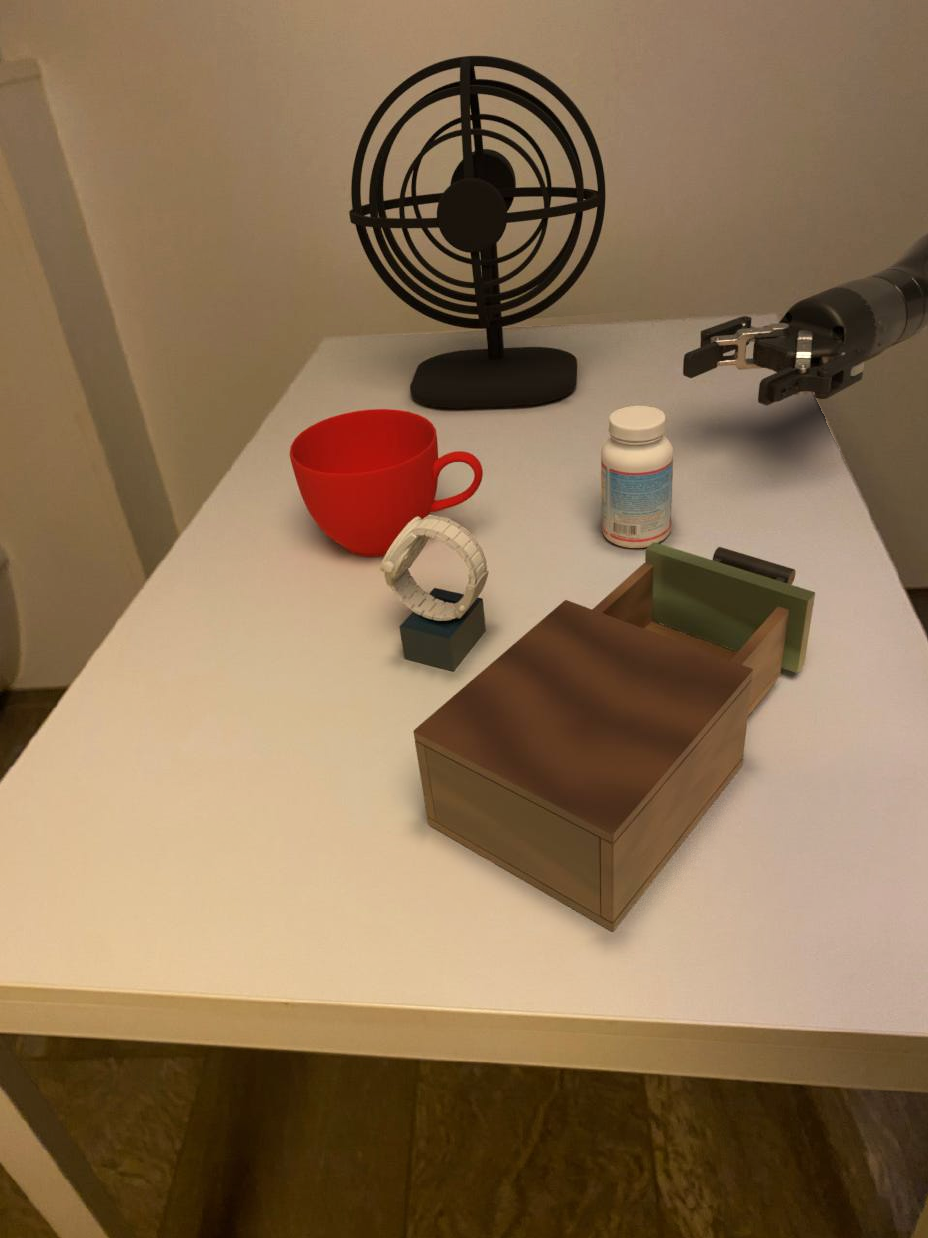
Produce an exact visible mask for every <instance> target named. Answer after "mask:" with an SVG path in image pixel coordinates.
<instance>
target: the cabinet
mask: <svg viewBox="0 0 928 1238" xmlns="http://www.w3.org/2000/svg"><path fill="white" fill-rule="evenodd" d="M592 609H593V608H589V607H588V606H587V607H586V606H584V605H581V604H579V603H575V602H573V601H570V600H568V599H564V600H563V601H562V602H561V603H560V604H559V605H557V607H555V608H554V609H553V610H551V612H549V613H548V614H547V615H545V616H544V618H543V619H542V620H540V621H539V622H538V623H537V624H536V625H534V626H533V627H532V628H530V629H529V630H528V631H527V632H526V633H525V634H523V636H522V637H520V638H519V639H518V640H517V641H516V642H515V643H513V644H512V645H511V646H510V647H508V648H507V649H506V650H505V651H504V652H503V653H502V654H500V655H499V656H498V657H497V658H496V659H494V661H493V662H491V663H490V664H489V665H488V666H486V667H485V668H484V669H483V670H481V672H480V673H478V674H477V675H476V676H475V677H473V679H471V681H469V682H468V683H467V684H465V686H463V687H462V688H460V689H459V691H458V692H456V693H455V694H454V695H453V696H452V697H451V698H449V699H448V700H447V701H446V702H445V703H444V704H442V705H441V706H440V707H439V708H438V709H437V710H436V711H434V712H433V713H431V714H430V716H428V717H427V718H426V719H425V720H424V721H422V723H420V724H419V725H418V726H417V727H416V728H414V729H413V732H412V733H413V738H414V746H415V752H416V758H417V763H418V770H419V776H420V781H421V782H420V783H421V788H422V794H423V801H424V807H425V812H426V817H427V822H428V823H427V824H428V826H430V827H432V828H433V829H435V830H437V831H438V832H440V833H441V834H443V835H445V836H447V837H449V838H451V840H454V841H456V842H457V843H459V844H461V845H462V846H465V847H466V848H467V849H470V850H471V851H473V852H475V853H476V854H478V855H479V856H482V857H483V858H485V859H487V860H488V861H490V862H492V863H494V864H495V865H497V866H499V867H501V868H502V869H504V870H505V871H507V872H509V873H511V874H513V875H514V876H516V877H518V878H519V879H521V880H523V881H524V882H526V883H528V884H530V885H531V886H533V887H534V888H536V889H538V890H540V891H541V892H543V893H545V894H547V895H548V896H550V897H552V898H553V899H555V900H557V901H559V902H561V903H562V904H563V905H566V906H568V908H571V909H573V910H574V911H576V912H577V913H580V914H581V915H583V916H585V917H586V918H588V919H590V920H591V921H593V922H595V923H597V924H598V925H600V926H601V927H603V928H605V929H607V930H608V931H610V932H614V931H615V930H616V928H617V927H618V926H619V924H620V923H621V922H622V920H623V919H624V918H625V917H626V916H627V915H628V913H629V912H630V910H631V909H632V908H633V906H634V905H635V904H636V903H637V902H638V900H639V899H640V898H641V896H642V895H643V894H644V892H645V891H646V890H647V889H648V887H649V886H650V885H651V883H652V882H653V881H654V880H655V878H656V877H657V876H658V874H659V873H660V872H661V870H663V868H664V867H665V865H666V864H667V863H668V862H669V860H670V859H671V858H672V856H673V855H674V854H675V853H676V851H677V850H678V848H680V846H681V845H682V843H683V842H684V841H685V840H686V838H687V837H688V836H689V835H690V833H691V832H692V831H693V830H694V828H695V827H696V825H697V824H698V823H699V821H700V820H701V819H702V818H703V816H705V814H706V813H707V812H708V810H709V809H710V808H711V806H712V805H713V804H714V803H715V801H716V800H717V799H718V797H719V796H720V794H722V792H723V791H724V790H725V789H726V787H727V785H729V783H730V782H731V780H733V778H734V777H735V775H736V774H737V773H738V772H739V770H740V769H741V768H742V766H743V763H744V762H743V761H744V753H745V745H746V737H747V736H746V735H747V727H748V718H749V715H748V710H749V701H750V692H751V683H752V675H753V669H752V668H749V667H746V666H743V665H741V664H738V663H735V662H733V661H730V660H727V659H725V658H722V657H719V656H716V655H714V654H711V653H708V652H706V651H703V650H700V649H697V648H695V647H692V646H689V645H687V644H684V643H681V642H679V641H676V640H673V639H670V638H668V637H665V636H662V635H660V634H657V633H654V632H652V631H649V630H646V629H643V628H641V627H638V626H635V625H633V624H630V623H627V622H625V621H622V620H619V619H616V618H614V617H611V616H608V615H606V614H603V613H600V612H598V611H595V610H592Z"/></svg>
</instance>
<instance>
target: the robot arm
mask: <svg viewBox="0 0 928 1238" xmlns="http://www.w3.org/2000/svg"><path fill="white" fill-rule="evenodd" d="M927 327H928V232H927V233H925V234H924V235H922V236H921V237H919V238H918V239H917V240H916V241H914V242H913V244H912V245H910V246H909V247H908V249H907V250H905V251H904V253H903V254H902V255H901V256H900V257H899V258H898V259H897V260H896V261H895V262H894V263H893V264H891V265H890V266H888V267H887V268H885V269H883V270H881V271H880V270H879V271H878V272H875V273H873V274H871V275H868V276H866V277H863V278H858V279H853V280H849V281H845V282H844V283H840V284H838V285H836V286H833V287H831V288H829V289H826V290H824V291H821V292H819V293H816V294H813V295H811V296H809V297H806V298H805V299H802V300H799V301H797V302H796V303H794V304H793V305H792V306H791V307H790V308H789V309H788V310H786V313H785V314H784V315H783V317H782V318H781V319H780V320H779V322H778V323H777V322H775V323H770V324H768V325H764V326H761V327H760V326H759V327H755V326H752V317H751V316H747V315H742V316H739V317H737V318H734V319H730V320H728V321H725V322H722V323H720V324H717V325H714V326H710V327H708V328H705V329H702V330H701V331H700V346H699V347H698V348H695V349H692V350H690V351H688V352H686V353H685V354H684V355H683V364H682V375H683V376H684V377H686V378H689V379H693V378H695V377H698V376H700V375H702V374H705V373H708V372H710V371H713V370H714V369H717V368H718V367H725V366H726V367H727V366H735V367H736V369H737V370H739V371H740V370H741V371H742V370H753V369H754V370H755V369H768V370H769V371H773V372H774V373H772V374H771V375H768V376H765V377H764V378H762V379H761V380H760V382H759V385H758V396H757V402H758V404H761V405H763V406H766V407H767V406H770V405H773V404H774V403H778V402H781V401H783V400H784V399H788V398H790V397H792V396H794V395H795V396H805V395H807V394H808V392H809V393H814V395H813V397H814V398H816V399H818V400H827V399H829V398H830V397H833V396H834V395H836V394H838V393H840V392H841V391H844V390H845V389H847V388H849V387H851V386H852V385H854V384H856V383H858V382H860V381H862V379H863V375H864V369H865V362H867V361H869V360H871V359H873V358H875V357H877V356H879V355H880V354H882V353H883V352H884V351H886V350H887V349H889V348H891V347H893V346H895V345H897V344H900V343H902V342H904V341H906V340H908V339H911V338H912V337H915V336H916V335H918V334H920V333H921V332H922V331H924V330H925V329H926V328H927ZM750 343H753V350H752V358H746V354H747V346H748V345H750ZM732 351H734V353H733V354H730V355H724V354H727V353H730V352H732Z"/></svg>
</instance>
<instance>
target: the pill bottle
mask: <svg viewBox="0 0 928 1238" xmlns="http://www.w3.org/2000/svg"><path fill="white" fill-rule="evenodd" d="M666 419H667V418H666V414H665V413H664V412H663V411H662V410H661V409H659V408H657V407H653V406H649V405H631V406H625V407H621V408H619V409H616V410H614V411H613V412H611V414H610V415H609V418H608V433H609V436H610V437H609V438H608V439H607V440H606V441H605V442H604V444H603V445H602V447H601V450H600V451H601V452H600V453H601V454H600V471H601V473H600V476H601V477H600V479H601V480H600V481H601V483H600V484H601V485H600V486H601V529H602V530H601V531H602V534H603V535H604V538H606V539H607V540H608V541H609V542H611V543H612V544H614V545H616V546H619V547H623V548H628V549H643V548H647V547H649V546H650V545H651V544H652V543H653V542H655V543H658V544H660V543H661V542H662V541H664V540H665V539H666V538H667V537H668V536H669V535H670V532H671V528H672V509H673V508H672V505H673V477H674V475H673V474H674V473H673V472H674V447H673V445H672V444H671V442H670V440H669V439H668V438H667V437H666V436H665V434H666V430H667V426H666V423H667V422H666V421H667V420H666Z"/></svg>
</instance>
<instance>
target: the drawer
mask: <svg viewBox="0 0 928 1238" xmlns="http://www.w3.org/2000/svg"><path fill="white" fill-rule="evenodd" d="M644 552H645V553H644V555H645V557H644V559H645V560H644V563H642V564H641V565H640V566H639V567H638V568H637V569H636V570H634V572H632V573H631V574H630V575H629V576H628V577H627V578H626V579H624V580H623V581H622V582H621V583H620V584H618V586H616V588H615V589H613V590H612V591H611V592H610V593H609V594H608V595H606V597H604V598H603V599H602V600H601V601H600V602H599V603H597V604H596V606H594V607H593V608H591V609H592V610H595V611H598V612H600V613H603V614H606V615H608V616H611V617H614V618H616V619H619V620H622V621H625V622H627V623H630V624H633V625H635V626H638V627H641V628H643V629H646V630H649V631H652V632H654V633H657V634H660V635H662V636H665V637H668V638H670V639H673V640H676V641H679V642H681V643H684V644H687V645H689V646H692V647H695V648H697V649H700V650H703V651H706V652H708V653H711V654H714V655H716V656H719V657H722V658H725V659H727V660H730V661H733V662H735V663H738V664H741V665H743V666H746V667H749V668H752V669H753V675H752V683H751V692H750V701H749V710H748V716H750V714H751V713H752V712H753V710H754V709H755V708H756V707H757V706H758V705H759V703H760V702H761V701H762V699H764V697H765V696H766V695H767V694H768V692H769V691H770V690H771V688H772V687H773V686H774V685H775V683H776V682H777V681H778V680H779V679H780V677H781V671H782V669H784V670H787V671H789V672H792V673H795V674H798V673H799V672H800V671H801V669H802V668H803V667H804V666H805V662H806V657H807V656H806V655H807V650H808V642H809V637H810V630H811V624H812V617H813V611H814V610H813V609H814V605H815V597H816V592H815V591H813V590H810V589H806V588H803V587H800V586H796V585H793V584H794V581H795V578H796V569H795V568H792V567H788V566H785V565H783V564H779V563H775V562H772V561H768V560H766V559H761V558H759V557H756V556H752V555H748V554H746V553H742V552H739V551H735V550H732V549H728V548H725V547H723V546H718V547H717V548H716V549H715V550H714V553H713V555H712V559H710V558H706V557H703V556H700V555H697V554H693V553H691V552H688V551H684V550H682V549H677V548H674V547H672V546H667V545H664V544H661V543H655V542H653V543H652V544H651V545H650V546H649V547H645V551H644Z"/></svg>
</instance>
